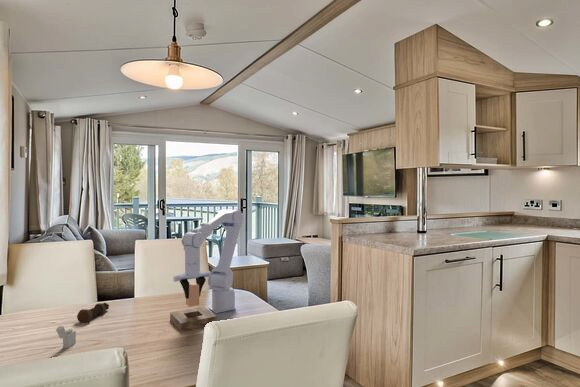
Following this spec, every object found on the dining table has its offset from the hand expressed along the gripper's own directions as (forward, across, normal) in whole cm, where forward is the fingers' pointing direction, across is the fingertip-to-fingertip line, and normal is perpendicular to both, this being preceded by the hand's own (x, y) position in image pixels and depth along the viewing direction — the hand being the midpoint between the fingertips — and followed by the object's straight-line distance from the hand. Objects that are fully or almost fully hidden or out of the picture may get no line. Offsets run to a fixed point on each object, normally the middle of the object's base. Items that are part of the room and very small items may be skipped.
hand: (192, 297), depth 146 cm
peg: (+3, 0, 0) cm, 3 cm away
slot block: (+10, 0, 0) cm, 10 cm away
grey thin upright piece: (+10, +43, -1) cm, 44 cm away
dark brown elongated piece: (+10, +31, -28) cm, 44 cm away
